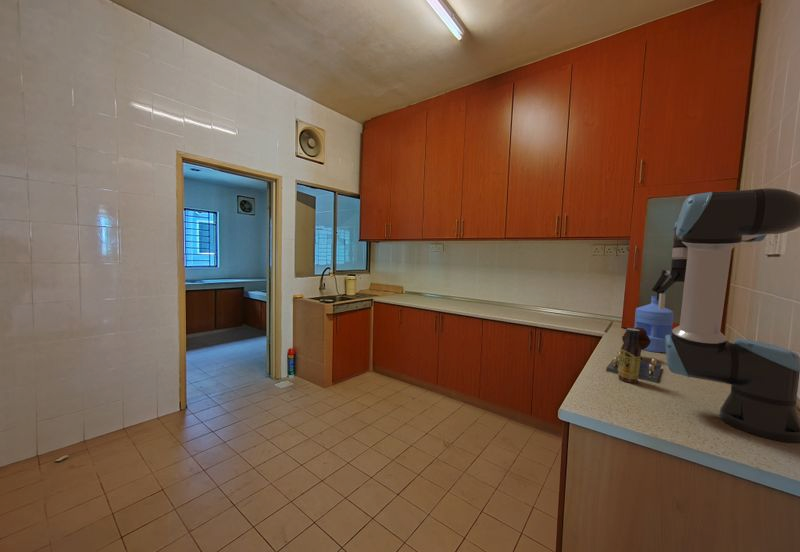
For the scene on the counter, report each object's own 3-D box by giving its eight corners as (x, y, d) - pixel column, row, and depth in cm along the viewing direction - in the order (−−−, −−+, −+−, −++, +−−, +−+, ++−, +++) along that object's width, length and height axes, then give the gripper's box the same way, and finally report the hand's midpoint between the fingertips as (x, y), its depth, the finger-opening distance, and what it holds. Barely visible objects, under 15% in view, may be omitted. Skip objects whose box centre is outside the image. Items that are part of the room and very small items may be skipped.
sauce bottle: (613, 377, 120) (617, 326, 119) (630, 377, 120) (634, 327, 118) (625, 383, 113) (629, 330, 112) (643, 384, 113) (647, 331, 112)
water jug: (632, 343, 174) (635, 294, 172) (668, 348, 165) (673, 296, 163) (633, 349, 161) (637, 296, 160) (672, 355, 152) (677, 299, 150)
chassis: (656, 382, 115) (657, 369, 115) (606, 371, 126) (607, 359, 126) (661, 368, 131) (661, 357, 131) (615, 359, 142) (616, 348, 142)
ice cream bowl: (650, 358, 146) (652, 327, 145) (648, 363, 138) (650, 330, 137) (622, 353, 153) (625, 323, 152) (619, 357, 145) (621, 326, 144)
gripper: (731, 259, 113) (726, 316, 114) (656, 259, 136) (652, 306, 137) (719, 258, 110) (714, 317, 111) (644, 258, 134) (641, 306, 135)
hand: (680, 311), depth 124 cm, fingers open, 13 cm apart
